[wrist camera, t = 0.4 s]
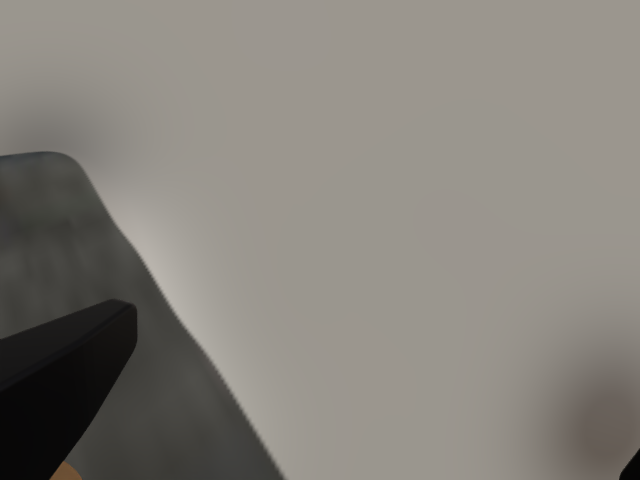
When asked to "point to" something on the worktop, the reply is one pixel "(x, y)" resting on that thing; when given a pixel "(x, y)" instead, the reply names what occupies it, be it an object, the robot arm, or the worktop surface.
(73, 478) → the bronze dome and bar
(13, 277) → the worktop surface
